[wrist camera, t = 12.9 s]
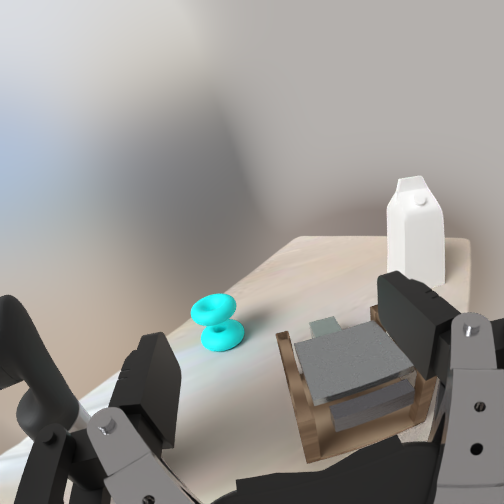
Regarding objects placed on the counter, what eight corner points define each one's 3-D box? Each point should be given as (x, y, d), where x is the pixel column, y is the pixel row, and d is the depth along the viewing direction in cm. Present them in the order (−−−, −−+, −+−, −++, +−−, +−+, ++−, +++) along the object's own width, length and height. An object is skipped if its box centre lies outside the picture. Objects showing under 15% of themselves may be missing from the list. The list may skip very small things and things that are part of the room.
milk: (424, 265, 72) (420, 171, 64) (444, 284, 62) (444, 178, 53) (387, 274, 74) (378, 177, 65) (403, 295, 63) (398, 185, 54)
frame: (424, 421, 32) (438, 372, 29) (307, 463, 33) (297, 423, 29) (380, 352, 49) (380, 303, 45) (286, 380, 49) (275, 333, 46)
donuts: (179, 313, 61) (206, 290, 69) (195, 349, 64) (218, 324, 72) (217, 318, 56) (242, 292, 64) (231, 357, 59) (253, 329, 67)
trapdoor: (424, 398, 28) (426, 379, 27) (322, 436, 28) (319, 419, 28) (374, 336, 44) (373, 319, 44) (297, 359, 45) (294, 343, 44)
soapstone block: (323, 357, 44) (309, 322, 56) (326, 379, 46) (312, 343, 57) (353, 348, 44) (333, 316, 56) (354, 371, 46) (336, 337, 57)
